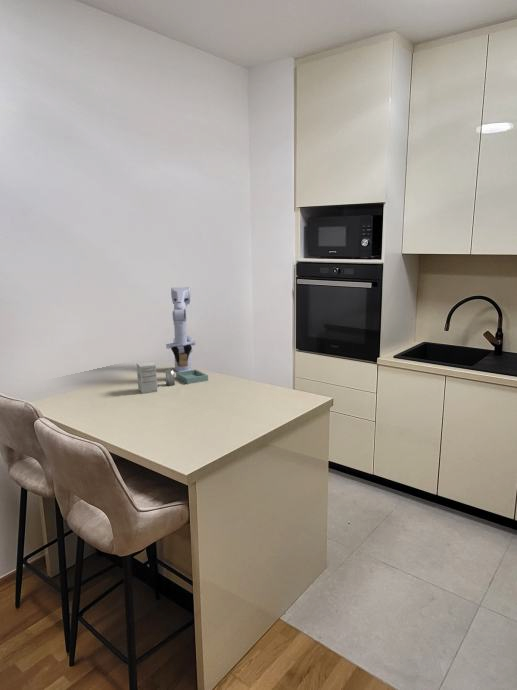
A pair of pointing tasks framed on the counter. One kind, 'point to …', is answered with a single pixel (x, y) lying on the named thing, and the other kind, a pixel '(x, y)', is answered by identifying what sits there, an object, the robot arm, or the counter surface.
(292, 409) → the counter surface
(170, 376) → the grey peg
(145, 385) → the supplement box
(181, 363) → the walnut block
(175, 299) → the robot arm
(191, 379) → the parts tray
